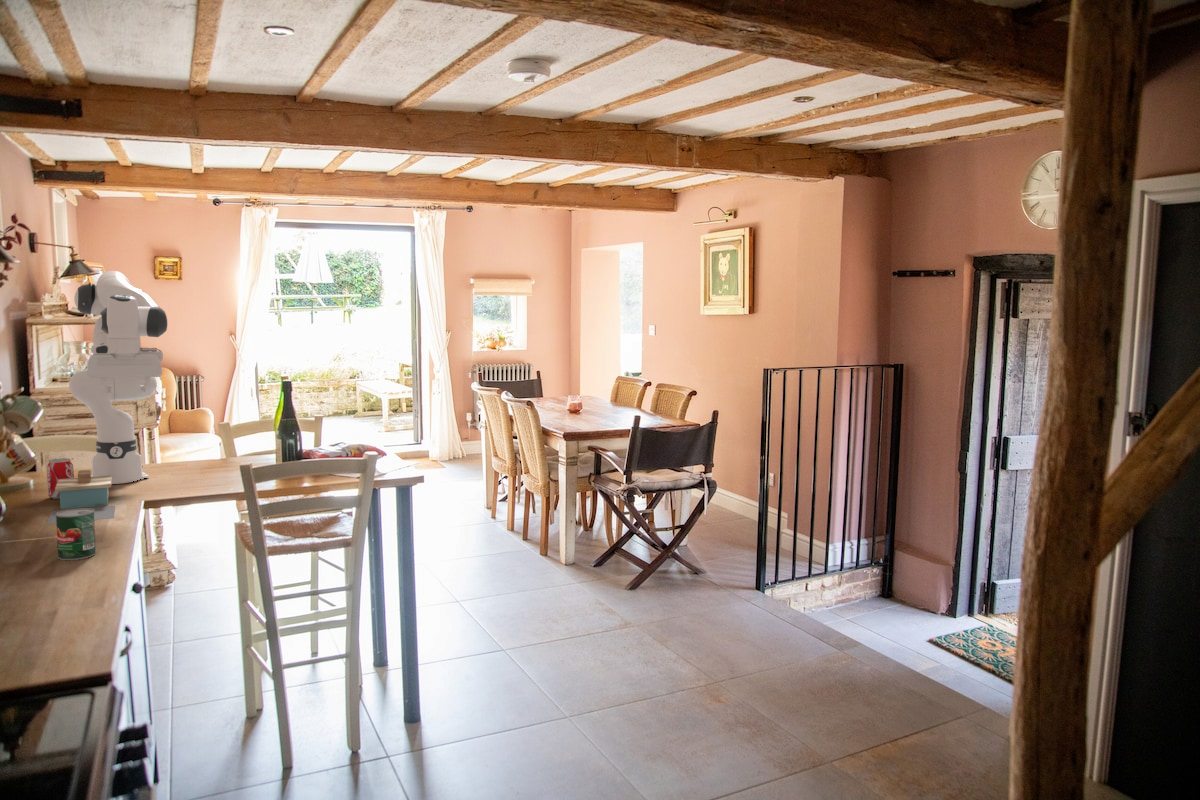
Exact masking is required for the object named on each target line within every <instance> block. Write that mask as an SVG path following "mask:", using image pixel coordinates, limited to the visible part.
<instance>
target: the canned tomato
mask: <svg viewBox="0 0 1200 800" xmlns="http://www.w3.org/2000/svg"><path fill="white" fill-rule="evenodd" d="M90 508H91V507H80V508H68V509H63V510H64V511H60V512H58V513H56V523H55V524H56V541H57V543H56V544H57V559H58V560H59V559H60V561H65V560H71V561H79V559H80V560H85V559H88V557H89V558H91V556H92V557H94V556H95V555H96V554H97V552H96V548H97V547H96V530H95V528H96V527H95V520H94V510H93V509H90ZM93 555H94V556H93ZM84 558H85V559H84Z"/></svg>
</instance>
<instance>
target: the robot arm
mask: <svg viewBox="0 0 1200 800" xmlns="http://www.w3.org/2000/svg"><path fill="white" fill-rule="evenodd" d="M73 297H74V303H75V306H76V308H77V310H78V312H80V313H82V314H84V315H96V316H99V317H98V318H97V319H96V320H95V323H94V328H93V333H92V335H93V336H92V345H93V346H91V349H90V352H91V353H92V354H91V355H90V356H89V357H88V361H87V368H86V369H85V370H82V371H76V372H75V373H74V374H73V375H72V376H70V379H69V382H68V389H69V391H70V393H71V395H72V397H73V398H74V399H76V400H77V401H79V402H80V403H82V404H83V405H85V406H86V407H87V408H88V409H89V411H90V412H91V413H92V415H93V418H94V420H95V426H96V427H95V428H96V437H97V440H96V443H95V444H96V445H95V449H96V454H95V455H94V456H93V457H92V458H91V461H90V462H91V477H97V476H112V482H111V485H114V484H115V485H116V484H118V485H119V484H127V483H128V484H129V483H133V481H134V482H137V480H138V481H141V480H145V479H144V478H147V479H149V478H150V476H149V474H147V473H146V472H144V471H143V462H142V461H143V460H142V455H141V454H140V453H139V452H138V451H137V444H138V443H137V439H136V438H135V420H134V418H133V417H132V415H131V414H129V413H128V412H126V411H123V410H121V409H117V408H116V407H114V406H113V404H112V403H113V402H118V401H119V402H120V401H121V402H122V401H139V400H144V399H149V398H151V397H152V396H153V395H154V394H155V392H156V390H157V383H158V382H157V379H156V378H160V377H161V376H162V375H163V368H162V363H161V362H162V361H163V359H164V358H163V357H164V355H163V351H162V350H161V349H159V348H157V347H142V346H141V337H148V338H160V336H162V335H164V334H165V333H166V332H167V331H168V326H169V325H168V323H169V322H168V321H169V320H168V317H167V314H166V311H164V309H163V308H161V307H160V306H159V305H157V304H156V303H155V301H154V300H153V299H152V298H151V296H149V295H148V294H147V293H146V292H145V291H143V289H140V288H137V287H135V286H133V285H132V283H131V281H130V279H129V278H128V277H127V276H126V275H125V274H124V273H122V272H121V271H117V270H106V271H105V272H103V273H102V274H101V275H100V276H99V277H98V279H97V281H96V283H92V282H88V283H87V284H86V283H85V284H81V285H80V286H79V287H77V290H76V292H75V293H74V296H73ZM148 477H149V478H148ZM140 479H141V480H140Z"/></svg>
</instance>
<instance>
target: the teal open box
mask: <svg viewBox="0 0 1200 800" xmlns="http://www.w3.org/2000/svg"><path fill="white" fill-rule="evenodd" d="M109 491H110V490H109V487H108V488H95V489H81V490H68V491H60V499H59V506H60V510H69V509H77V508H92V507H104V506H109V505H108V504H109V498H110V496H109V494H110V493H109Z"/></svg>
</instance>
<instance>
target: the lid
mask: <svg viewBox="0 0 1200 800" xmlns="http://www.w3.org/2000/svg"><path fill="white" fill-rule="evenodd" d="M91 476H92V470H91V469H86V470H85V469H84V470H83V469H82V470H78V473H77V477H74V478H68V479H59V481H58V483H57V485H56V488H55V491H68V490H81V489H95V488H108V489H109V488H111V487H112V484H111V482H112V476H97V477H91Z"/></svg>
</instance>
